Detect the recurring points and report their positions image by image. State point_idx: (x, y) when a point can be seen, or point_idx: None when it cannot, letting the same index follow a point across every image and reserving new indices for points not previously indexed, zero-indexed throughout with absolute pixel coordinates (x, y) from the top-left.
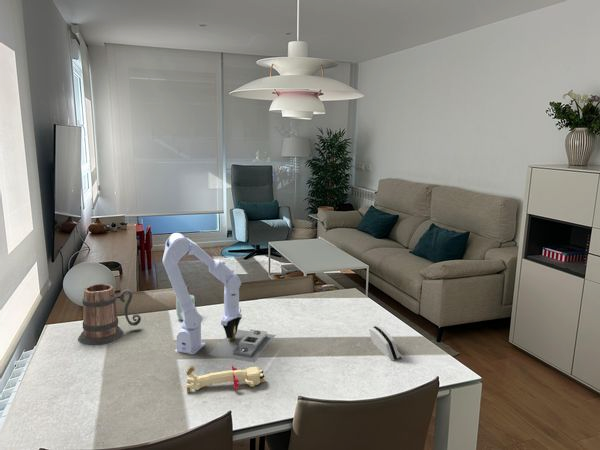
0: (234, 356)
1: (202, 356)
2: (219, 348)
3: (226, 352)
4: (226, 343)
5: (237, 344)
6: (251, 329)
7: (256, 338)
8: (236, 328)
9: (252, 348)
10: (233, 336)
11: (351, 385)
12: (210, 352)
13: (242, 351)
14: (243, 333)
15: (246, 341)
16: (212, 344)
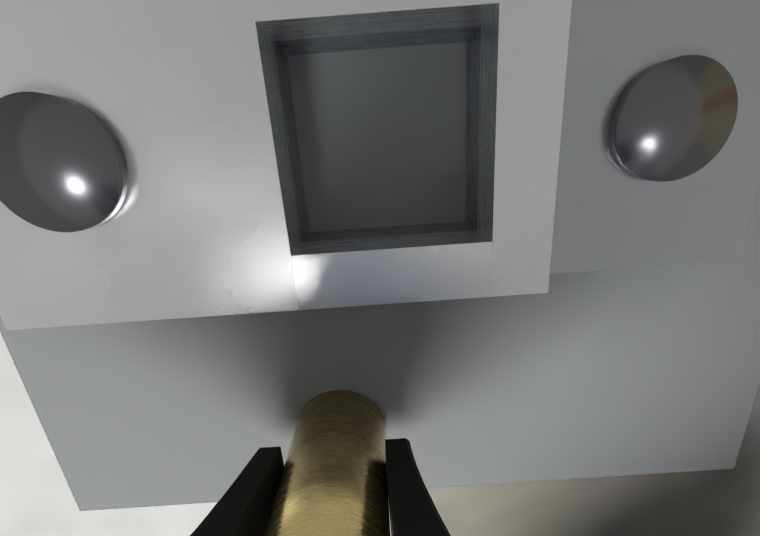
0: (756, 206)
1: (736, 490)
2: (580, 440)
3: (660, 339)
4: (445, 433)
5: (422, 321)
6: (10, 322)
7: (265, 77)
8: (241, 528)
9: (591, 8)
10: (361, 443)
11: None
12: (687, 471)
13: (727, 128)
14: (114, 389)
15: (356, 236)
16: (479, 524)
